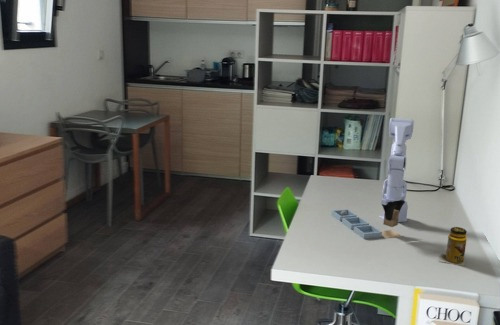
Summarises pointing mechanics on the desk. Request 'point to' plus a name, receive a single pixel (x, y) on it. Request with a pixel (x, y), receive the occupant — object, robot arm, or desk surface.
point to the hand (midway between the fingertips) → (391, 218)
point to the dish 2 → (354, 222)
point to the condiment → (455, 247)
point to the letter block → (394, 219)
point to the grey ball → (344, 213)
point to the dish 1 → (338, 216)
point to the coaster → (390, 234)
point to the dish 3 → (367, 231)
